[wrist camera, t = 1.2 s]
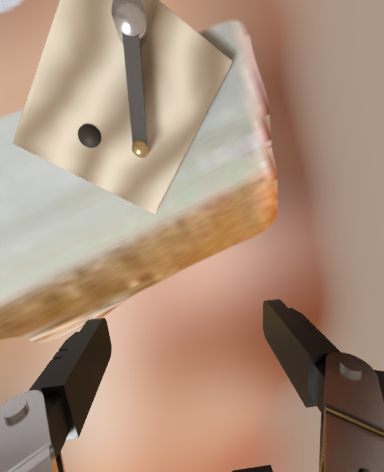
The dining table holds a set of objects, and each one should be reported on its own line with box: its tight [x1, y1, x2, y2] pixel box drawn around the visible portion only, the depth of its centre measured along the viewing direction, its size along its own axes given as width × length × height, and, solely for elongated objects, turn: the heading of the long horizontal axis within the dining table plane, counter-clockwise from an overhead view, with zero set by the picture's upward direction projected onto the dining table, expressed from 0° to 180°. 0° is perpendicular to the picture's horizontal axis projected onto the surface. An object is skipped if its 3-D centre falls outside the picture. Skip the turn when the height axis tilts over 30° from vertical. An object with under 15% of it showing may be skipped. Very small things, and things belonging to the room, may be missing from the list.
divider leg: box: [111, 0, 149, 158], centre depth 22 cm, size 14×3×2 cm, turn 0°
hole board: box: [13, 0, 233, 214], centre depth 25 cm, size 18×21×2 cm
